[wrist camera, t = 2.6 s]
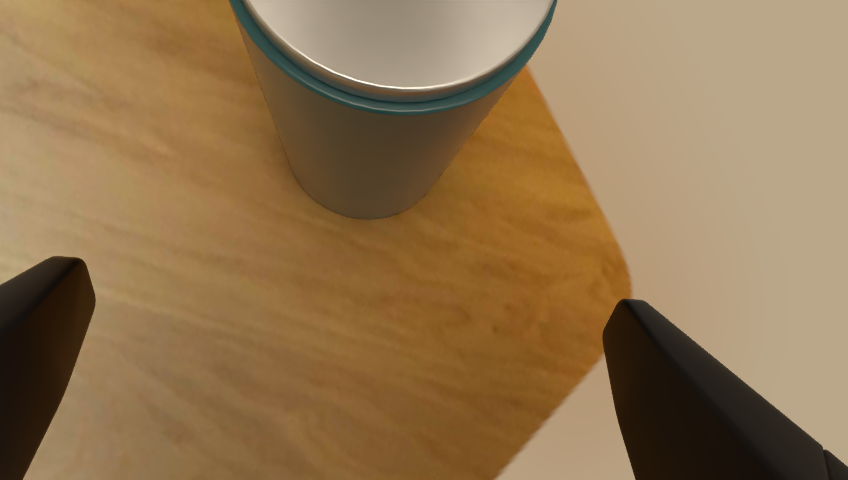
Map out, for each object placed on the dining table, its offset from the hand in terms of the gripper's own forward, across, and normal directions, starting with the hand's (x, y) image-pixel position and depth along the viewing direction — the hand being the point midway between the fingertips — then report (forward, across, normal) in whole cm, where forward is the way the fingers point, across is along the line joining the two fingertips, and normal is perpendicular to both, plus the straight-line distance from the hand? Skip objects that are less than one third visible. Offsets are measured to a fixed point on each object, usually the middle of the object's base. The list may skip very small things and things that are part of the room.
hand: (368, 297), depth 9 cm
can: (+14, 0, +4) cm, 14 cm away
